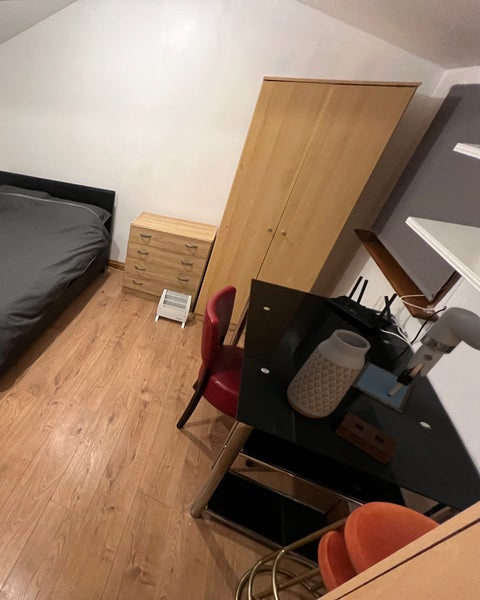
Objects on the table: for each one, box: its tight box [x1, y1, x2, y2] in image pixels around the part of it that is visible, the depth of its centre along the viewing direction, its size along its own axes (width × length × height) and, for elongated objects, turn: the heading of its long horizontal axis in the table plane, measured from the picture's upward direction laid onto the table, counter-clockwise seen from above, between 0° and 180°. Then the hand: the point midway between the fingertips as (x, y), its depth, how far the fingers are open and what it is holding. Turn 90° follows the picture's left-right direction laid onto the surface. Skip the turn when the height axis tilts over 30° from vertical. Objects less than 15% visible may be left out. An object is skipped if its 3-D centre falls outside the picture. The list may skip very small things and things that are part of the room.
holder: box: [334, 411, 400, 465], centre depth 101 cm, size 13×8×4 cm, turn 40°
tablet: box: [351, 361, 414, 414], centre depth 123 cm, size 22×15×1 cm
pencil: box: [388, 382, 403, 396], centre depth 114 cm, size 1×1×13 cm
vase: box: [286, 329, 371, 419], centre depth 103 cm, size 14×14×31 cm
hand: (402, 381), depth 114 cm, fingers closed on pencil, 1 cm apart
